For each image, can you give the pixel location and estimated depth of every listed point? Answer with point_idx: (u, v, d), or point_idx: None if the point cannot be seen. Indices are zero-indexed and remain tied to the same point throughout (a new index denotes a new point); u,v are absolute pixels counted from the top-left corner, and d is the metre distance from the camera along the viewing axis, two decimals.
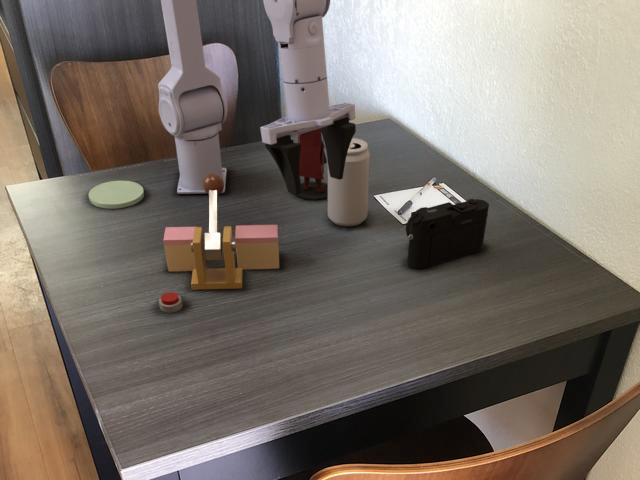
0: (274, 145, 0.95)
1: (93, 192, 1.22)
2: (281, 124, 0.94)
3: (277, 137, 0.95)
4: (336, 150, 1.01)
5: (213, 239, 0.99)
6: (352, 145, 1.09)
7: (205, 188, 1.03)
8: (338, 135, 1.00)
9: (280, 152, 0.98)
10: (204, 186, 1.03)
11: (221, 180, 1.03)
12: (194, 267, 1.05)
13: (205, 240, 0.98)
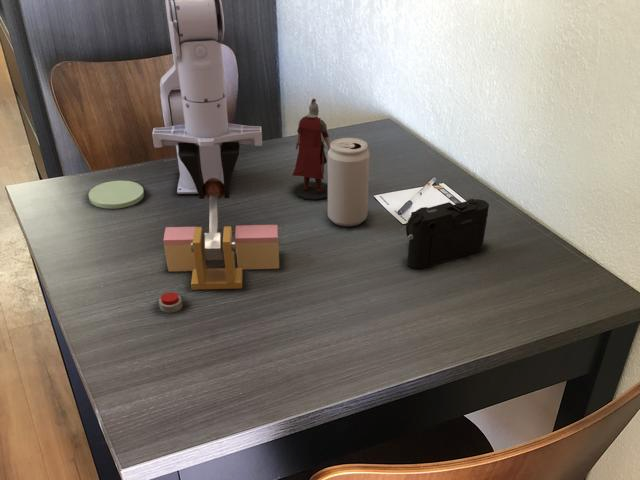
0: None
1: (93, 192, 1.22)
2: (171, 131, 0.98)
3: (166, 142, 0.98)
4: None
5: (213, 239, 0.99)
6: (352, 145, 1.09)
7: (206, 192, 1.03)
8: None
9: None
10: (205, 190, 1.03)
11: (222, 184, 1.03)
12: (194, 267, 1.05)
13: (205, 239, 0.99)
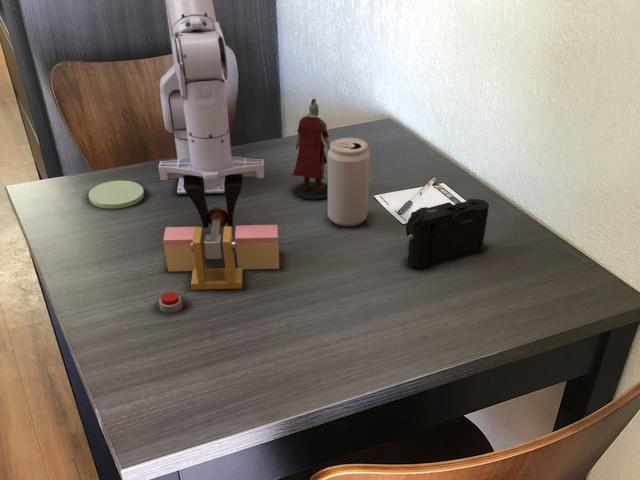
0: None
1: (93, 192, 1.22)
2: (177, 164, 1.02)
3: (171, 175, 1.02)
4: None
5: (213, 237, 0.99)
6: (352, 145, 1.09)
7: (209, 217, 1.07)
8: None
9: None
10: (208, 216, 1.07)
11: (225, 211, 1.07)
12: (194, 267, 1.05)
13: (205, 238, 0.99)
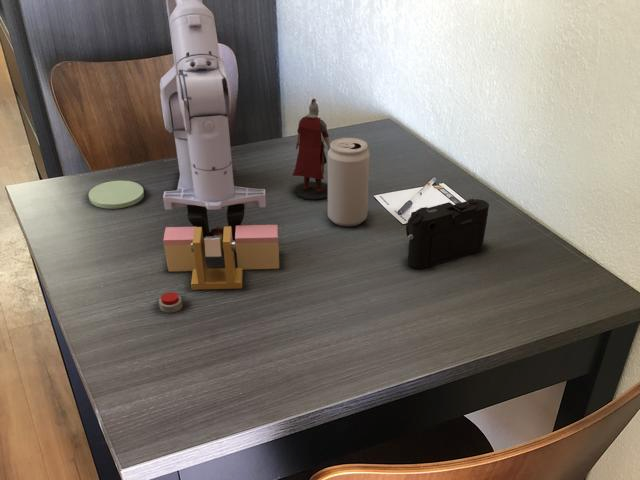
0: None
1: (93, 192, 1.22)
2: (181, 195, 1.04)
3: (175, 204, 1.05)
4: None
5: (213, 237, 0.99)
6: (352, 145, 1.09)
7: (211, 235, 1.08)
8: None
9: None
10: (210, 234, 1.08)
11: None
12: (194, 267, 1.05)
13: (205, 237, 0.99)
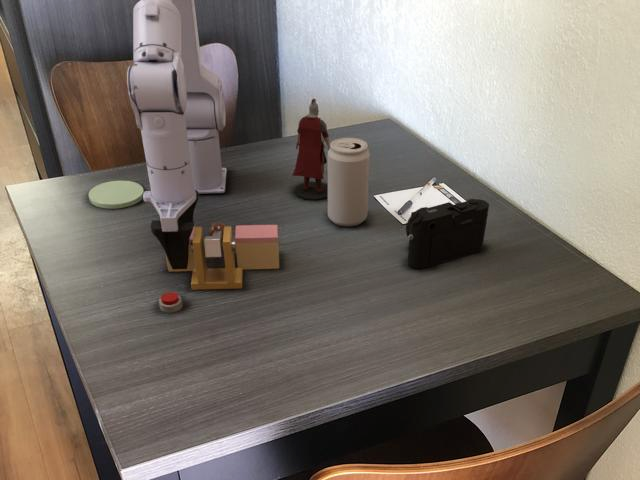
0: None
1: (93, 192, 1.22)
2: None
3: None
4: None
5: (213, 237, 0.99)
6: (352, 145, 1.09)
7: (211, 231, 1.08)
8: None
9: None
10: (210, 230, 1.08)
11: None
12: (194, 267, 1.05)
13: (205, 237, 0.99)
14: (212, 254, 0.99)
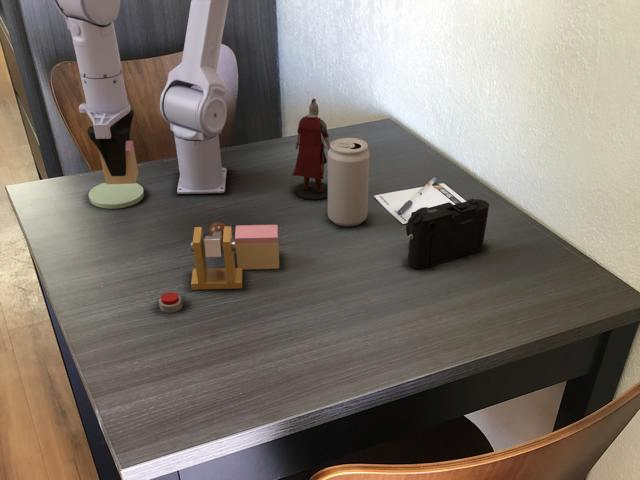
0: None
1: (93, 192, 1.22)
2: None
3: None
4: None
5: (213, 237, 0.99)
6: (352, 145, 1.09)
7: (211, 231, 1.08)
8: None
9: None
10: (210, 230, 1.08)
11: None
12: (131, 180, 1.10)
13: (205, 237, 0.99)
14: (212, 254, 0.99)
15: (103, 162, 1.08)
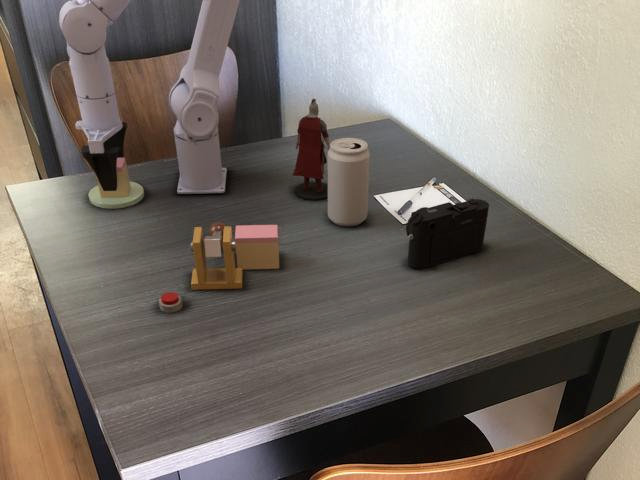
0: None
1: (93, 192, 1.22)
2: None
3: None
4: None
5: (213, 237, 0.99)
6: (352, 145, 1.09)
7: (211, 231, 1.08)
8: None
9: None
10: (210, 230, 1.08)
11: None
12: (123, 193, 1.20)
13: (205, 237, 0.99)
14: (212, 254, 0.99)
15: None
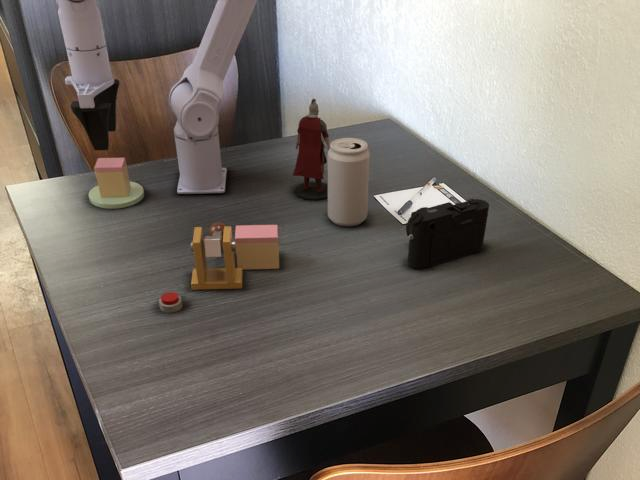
0: None
1: (93, 192, 1.22)
2: None
3: None
4: None
5: (213, 237, 0.99)
6: (352, 145, 1.09)
7: (211, 231, 1.08)
8: None
9: None
10: (210, 230, 1.08)
11: None
12: (123, 193, 1.20)
13: (205, 237, 0.99)
14: (212, 254, 0.99)
15: (98, 177, 1.18)
